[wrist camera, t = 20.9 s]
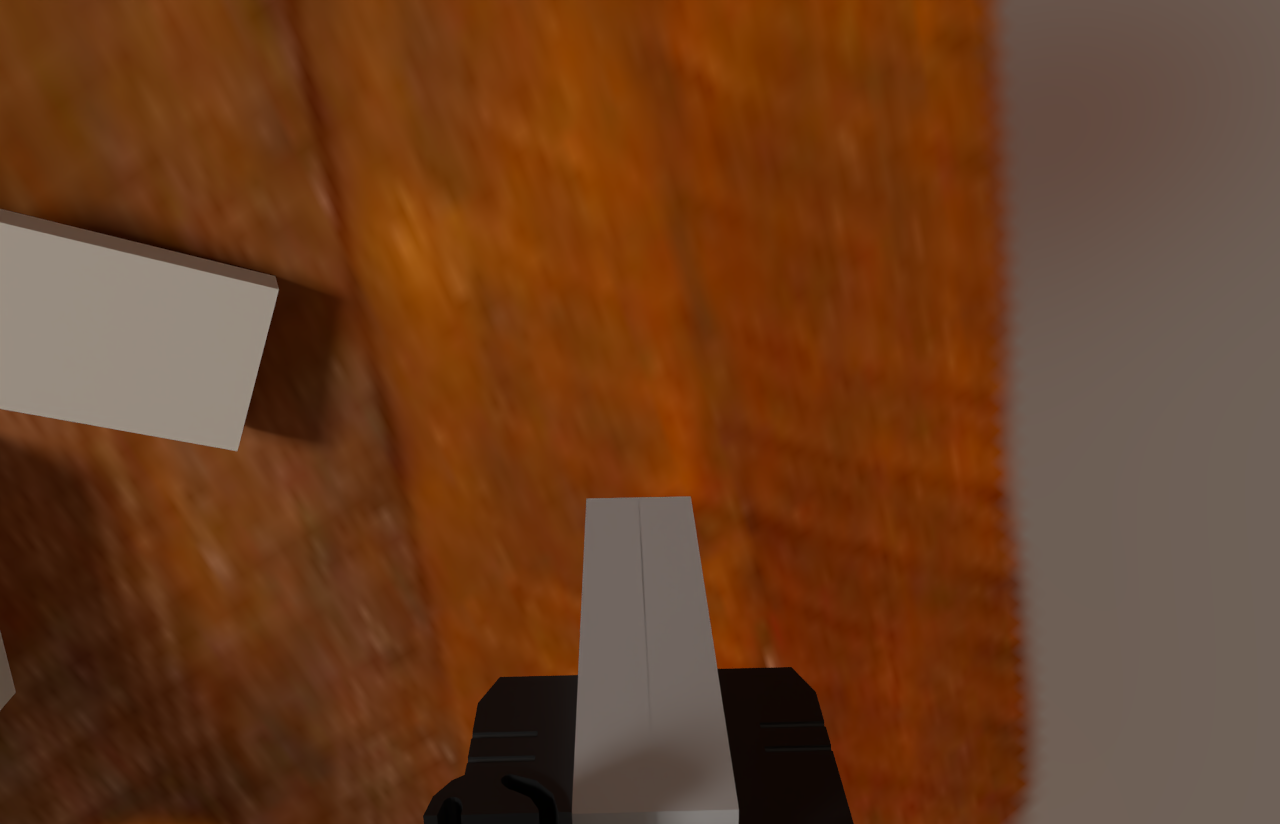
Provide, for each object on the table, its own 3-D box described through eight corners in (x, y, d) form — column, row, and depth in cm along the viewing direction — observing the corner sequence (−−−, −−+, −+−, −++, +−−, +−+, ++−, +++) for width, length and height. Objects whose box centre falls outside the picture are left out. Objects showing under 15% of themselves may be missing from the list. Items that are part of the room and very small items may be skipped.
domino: (235, 431, 41) (-151, 359, 36) (275, 276, 40) (-120, 179, 35) (237, 451, 40) (-168, 378, 35) (279, 289, 38) (-137, 189, 33)
